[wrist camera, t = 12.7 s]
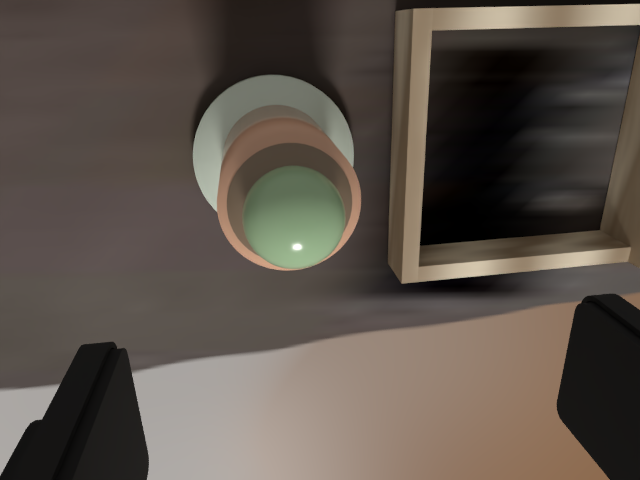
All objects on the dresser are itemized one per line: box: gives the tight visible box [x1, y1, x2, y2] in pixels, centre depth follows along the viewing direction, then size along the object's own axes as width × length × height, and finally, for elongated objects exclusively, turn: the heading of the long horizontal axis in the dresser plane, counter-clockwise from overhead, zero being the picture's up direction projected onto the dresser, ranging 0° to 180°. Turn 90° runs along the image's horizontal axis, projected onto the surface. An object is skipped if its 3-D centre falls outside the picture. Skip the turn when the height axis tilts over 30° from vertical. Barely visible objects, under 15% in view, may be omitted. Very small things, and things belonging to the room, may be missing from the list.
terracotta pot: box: [217, 105, 361, 270], centre depth 23 cm, size 6×6×12 cm
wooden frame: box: [388, 4, 640, 283], centre depth 29 cm, size 16×15×4 cm
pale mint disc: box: [193, 74, 354, 211], centre depth 29 cm, size 9×9×1 cm
